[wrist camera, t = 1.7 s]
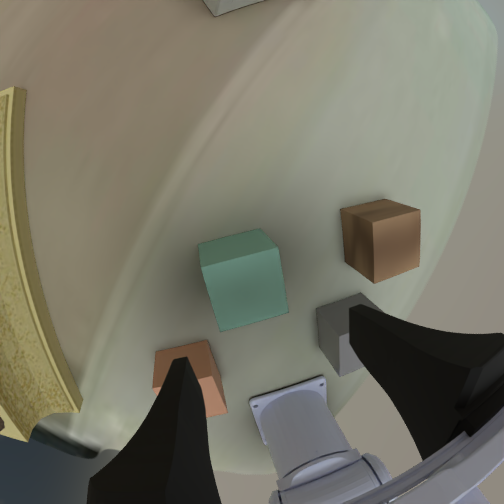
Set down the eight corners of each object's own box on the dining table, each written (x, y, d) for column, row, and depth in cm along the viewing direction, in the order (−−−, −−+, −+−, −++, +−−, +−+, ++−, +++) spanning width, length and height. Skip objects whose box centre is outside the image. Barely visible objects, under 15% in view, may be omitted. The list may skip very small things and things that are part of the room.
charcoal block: (360, 331, 26) (384, 357, 22) (319, 346, 26) (339, 377, 21) (360, 292, 25) (388, 316, 20) (315, 307, 24) (339, 336, 20)
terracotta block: (220, 376, 24) (228, 412, 20) (174, 386, 24) (174, 423, 20) (206, 339, 23) (212, 375, 19) (155, 351, 22) (152, 388, 18)
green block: (270, 283, 22) (288, 312, 18) (213, 298, 22) (220, 332, 18) (259, 228, 21) (278, 247, 17) (198, 243, 20) (200, 267, 16)
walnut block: (386, 248, 24) (419, 266, 20) (344, 261, 23) (374, 283, 19) (384, 198, 22) (420, 209, 18) (339, 208, 22) (372, 222, 17)
